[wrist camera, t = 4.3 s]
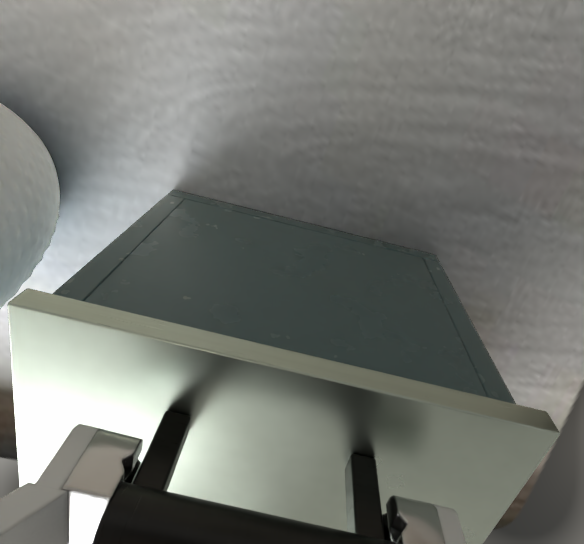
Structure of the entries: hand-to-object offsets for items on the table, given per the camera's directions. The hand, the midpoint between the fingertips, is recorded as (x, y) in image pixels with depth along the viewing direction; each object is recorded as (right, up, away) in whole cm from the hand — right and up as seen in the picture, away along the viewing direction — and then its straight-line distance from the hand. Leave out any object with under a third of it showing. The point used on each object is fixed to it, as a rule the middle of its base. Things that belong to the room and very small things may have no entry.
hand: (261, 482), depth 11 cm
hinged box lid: (-1, -3, +4) cm, 5 cm away
